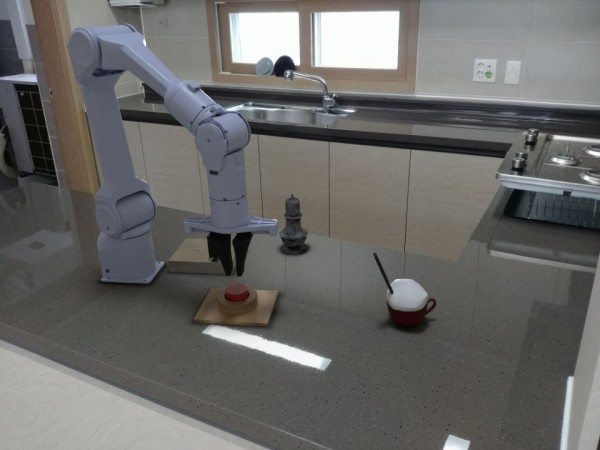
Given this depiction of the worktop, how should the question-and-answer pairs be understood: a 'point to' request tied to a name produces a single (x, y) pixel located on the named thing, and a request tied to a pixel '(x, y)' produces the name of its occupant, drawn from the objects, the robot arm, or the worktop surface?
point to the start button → (236, 292)
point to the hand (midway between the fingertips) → (235, 273)
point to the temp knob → (210, 250)
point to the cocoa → (406, 300)
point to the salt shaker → (293, 228)
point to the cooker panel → (197, 258)
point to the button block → (237, 308)
